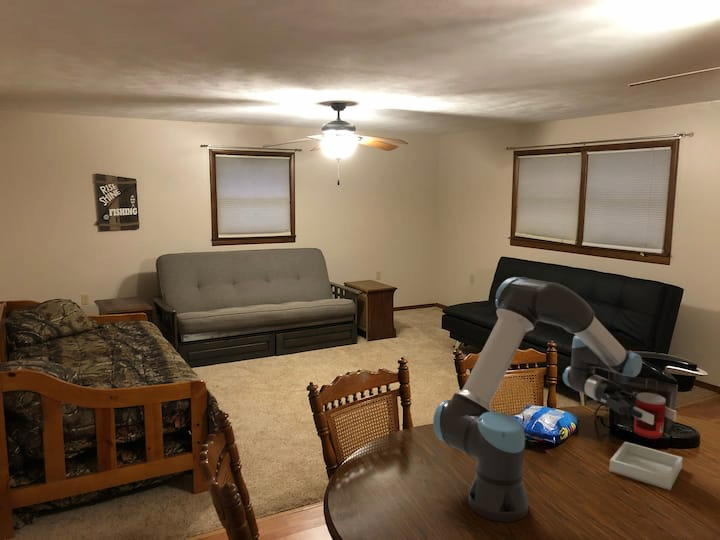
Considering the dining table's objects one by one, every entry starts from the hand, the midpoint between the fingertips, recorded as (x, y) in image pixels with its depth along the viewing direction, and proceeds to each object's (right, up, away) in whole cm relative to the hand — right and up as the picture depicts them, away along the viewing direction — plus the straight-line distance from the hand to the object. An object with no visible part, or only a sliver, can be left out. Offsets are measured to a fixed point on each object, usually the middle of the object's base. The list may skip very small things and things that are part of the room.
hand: (664, 417), depth 156 cm
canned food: (-2, -6, +5) cm, 8 cm away
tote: (-2, -17, +7) cm, 19 cm away
